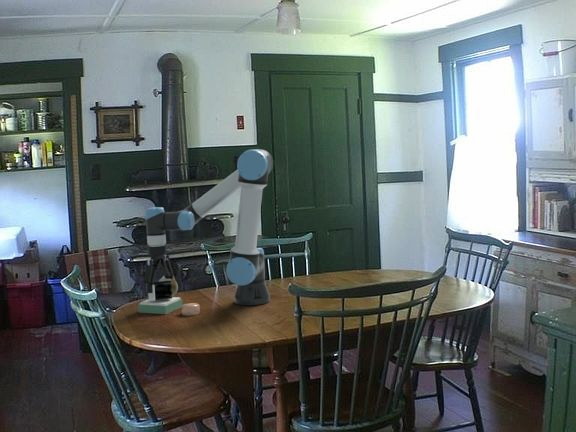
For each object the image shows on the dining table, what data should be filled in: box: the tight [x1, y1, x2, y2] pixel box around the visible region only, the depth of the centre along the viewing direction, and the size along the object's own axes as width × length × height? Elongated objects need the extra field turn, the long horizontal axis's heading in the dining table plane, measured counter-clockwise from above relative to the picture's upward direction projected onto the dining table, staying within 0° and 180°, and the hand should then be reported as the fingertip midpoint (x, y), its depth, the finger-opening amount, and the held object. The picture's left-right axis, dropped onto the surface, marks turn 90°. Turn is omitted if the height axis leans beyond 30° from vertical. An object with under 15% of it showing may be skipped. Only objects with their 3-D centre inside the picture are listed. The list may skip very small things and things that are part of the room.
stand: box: [137, 296, 184, 315], centre depth 287 cm, size 13×13×4 cm
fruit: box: [157, 275, 179, 297], centre depth 309 cm, size 10×9×12 cm
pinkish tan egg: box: [181, 302, 201, 317], centre depth 278 cm, size 7×7×4 cm
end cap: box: [145, 280, 173, 300], centre depth 286 cm, size 10×7×7 cm
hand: (160, 297), depth 286 cm, fingers closed on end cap, 11 cm apart
